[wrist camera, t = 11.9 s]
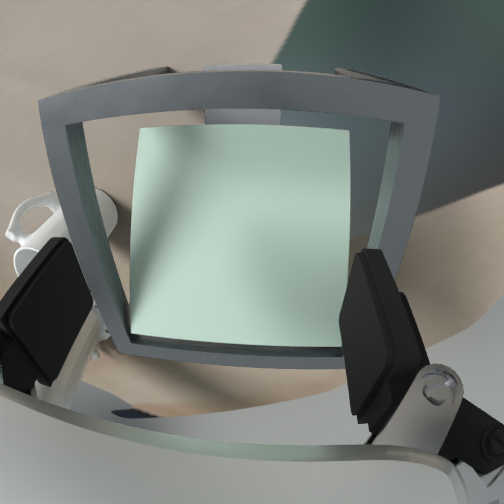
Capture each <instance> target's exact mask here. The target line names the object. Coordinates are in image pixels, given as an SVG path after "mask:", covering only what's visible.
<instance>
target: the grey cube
mask: <svg viewBox="0 0 504 504" xmlns="http://www.w3.org/2000/svg"><path fill="white" fill-rule="evenodd" d="M208 70H282V65H281V64H215V65H209V66H204V67H203V71H208ZM213 124H253V125H280V124H281V110H278V109H205V125H213Z"/></svg>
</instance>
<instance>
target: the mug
mask: <svg viewBox="0 0 504 504" xmlns="http://www.w3.org/2000/svg"><path fill="white" fill-rule="evenodd" d="M95 191H96V196H97V200H98V204H99V208H100V212H101V216H102V220H103V224H104V227H105V231H106V235H107V238H108V237H109V235H110V234H111V232H112V231H113V230H114V228H115V226H116V224H117V220H118V213H117V209H116V206H115V204H114V202H113V201H112V199H111V198H110V197H109V196H108V195H107V194H106V193H104V192H103V191H101V190H99V189H96V188H95ZM37 206H46V207H49V208H50V209H51V210H52V211H53V212H54V214H53V215H52V216H51V217H50V218H49V219H48V220H47V221H46V222H45V223H44V224H43V225H42V226H41V227H40V228H39V229H38V230H37V231H35V232H34V233H32V234H29V233H27V232H25V231H24V230H23V228H22V226H21V220H22V217H23V215H24V214H25V213H26V212H27V211H28V210H30V209H32V208H34V207H37ZM6 236H7V237H8V238H10V239H11V240H12V241H14V242H15V241H17V242H19V244H20V245H21V247H20V248H19V249H18V250H17V251H16V252H15V254H14V267H15V270H16V273H17V275H18V277H19V275H20V274H21V273H22V272H23V270H24V269H25V268H26V266H27V265H28V264H29V263H30V262H31V260H32V259H33V258H34V257H35V256H36V254H37V253H38V252H39V251H40V250H41V248H42V247H43V246H44V245H45V244H46V243H47V241H48V240H49V239H50V238H52V237H65V238H67V239H68V240H69V242H71V243H72V241H71V238H70V235H69V232H68V228H67V225H66V222H65V219H64V216H63V212H62V209H61V206H60V202H59V199H58V196H57V195H56V194H55V193H54V192H48V193H45V194H42V195H38V196H35V197H32V198H30V199H28V200H26V201H24V202H23V203H21V204H20V205H19V206H18V207H17V209H16V210H15V212H14V214H13V216H12V219H11V222H10V225H9V228H8V229H7V231H6ZM72 245H73V243H72ZM73 248H74V246H73ZM74 251H75V249H74ZM75 254H76V252H75ZM76 256H77V255H76ZM77 259H78V258H77ZM78 262H79V260H78ZM79 265H80V263H79ZM80 267H81V266H80ZM81 270H82V268H81ZM82 272H83V271H82ZM83 275H84V273H83Z"/></svg>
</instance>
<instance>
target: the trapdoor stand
mask: <svg viewBox="0 0 504 504" xmlns="http://www.w3.org/2000/svg"><path fill="white" fill-rule="evenodd" d="M439 101H440V96H438V95H435V94H433V93H430V92H427V91H424V90H421V89H418V88H416V87H412V86H409V85H406V84H403V83H400V82H397V81H393V80H390V79H387V78H383V77H379V76H376V75H372V74H368V73H364V72H360V71H356V70H351V69H344V68H335V75H334V74H325V73H315V72H301V71H285V70H208V71H192V72H179V73H169V74H168V67H160V68H152V69H147V70H142V71H137V72H133V73H128V74H124V75H120V76H116V77H112V78H108V79H104V80H100V81H96V82H93V83H89V84H86V85H83V86H79V87H76V88H73V89H70V90H67V91H64V92H61V93H58V94H55V95H52V96H49V97H47V98H44V99H41V100H39V101H38V106H39V112H40V119H41V124H42V130H43V135H44V140H45V145H46V150H47V155H48V159H49V164H50V168H51V172H52V176H53V180H54V184H55V188H56V192H57V195H58V199H59V202H60V206H61V209H62V212H63V216H64V219H65V222H66V225H67V228H68V232H69V235H70V238H71V241H72V243H73V246H74V249H75V252H76V255H77V258H78V260H79V263H80V266H81V268H82V271H83V273H84V276H85V279H86V281H87V284H88V286H89V288H90V291H91V293H92V296H93V298H94V300H95V303H96V305H97V307H98V310H99V312H100V314H101V316H102V318H103V321H104V323H105V325H106V327H107V329H108V331H109V333H110V335H111V338H112V340H113V342H114V344H115V346H116V348H117V350H118V352H119V353H124V354H130V355H137V356H143V357H150V358H157V359H165V360H173V361H181V362H190V363H200V364H211V365H223V366H236V367H253V368H276V369H346V368H345V361H344V354H343V347H342V346H341V347H305V346H269V345H248V344H232V343H218V342H205V341H194V340H184V339H174V338H165V337H156V336H148V335H140V334H133V333H131V318H130V303H129V304H128V301H127V299H126V296H125V293H124V290H123V287H122V284H121V281H120V278H119V275H118V272H117V268H116V265H115V262H114V259H113V255H112V252H111V249H110V245H109V242H108V238H107V235H106V231H105V227H104V224H103V220H102V216H101V212H100V208H99V204H98V200H97V196H96V191H95V187H94V182H93V178H92V173H91V168H90V163H89V158H88V153H87V147H86V142H85V136H84V130H83V123H82V122H83V121H89V120H96V119H102V118H109V117H117V116H124V115H133V114H142V113H153V112H164V111H179V110H198V109H278V110H297V111H312V112H324V113H334V114H344V115H353V116H360V117H368V118H376V119H381V120H388V121H392V122H391V129H390V136H389V143H388V148H387V154H386V160H385V166H384V172H383V177H382V182H381V187H380V192H379V197H378V202H377V207H376V211H375V216H374V220H373V225H372V229H371V233H370V237H369V241H368V245H367V249H380V250H382V252H383V254H384V257H385V259H386V261H387V264H388V266H389V268H390V271H391V273H392V276H393V278H394V280H395V278H396V275H397V272H398V269H399V266H400V263H401V260H402V257H403V254H404V251H405V248H406V245H407V242H408V239H409V236H410V232H411V229H412V226H413V222H414V219H415V215H416V212H417V208H418V204H419V200H420V197H421V193H422V189H423V185H424V180H425V176H426V172H427V168H428V163H429V159H430V153H431V149H432V144H433V138H434V133H435V127H436V122H437V115H438V108H439ZM347 285H348V284H347Z"/></svg>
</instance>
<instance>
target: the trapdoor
mask: <svg viewBox="0 0 504 504" xmlns="http://www.w3.org/2000/svg"><path fill="white" fill-rule="evenodd" d="M349 239H350V140H349V131H348V130H338V129H326V128H316V127H300V126H283V125H253V124H213V125H183V126H165V127H151V128H140V133H139V141H138V149H137V158H136V167H135V177H134V189H133V202H132V218H131V241H130V318H131V333H133V334H140V335H148V336H156V337H165V338H174V339H184V340H194V341H205V342H218V343H232V344H248V345H269V346H305V347H341V346H342V341H341V334H340V328H339V314H340V310H341V307H342V303H343V300H344V296H345V292H346V289H347V278H348V261H349Z"/></svg>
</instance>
